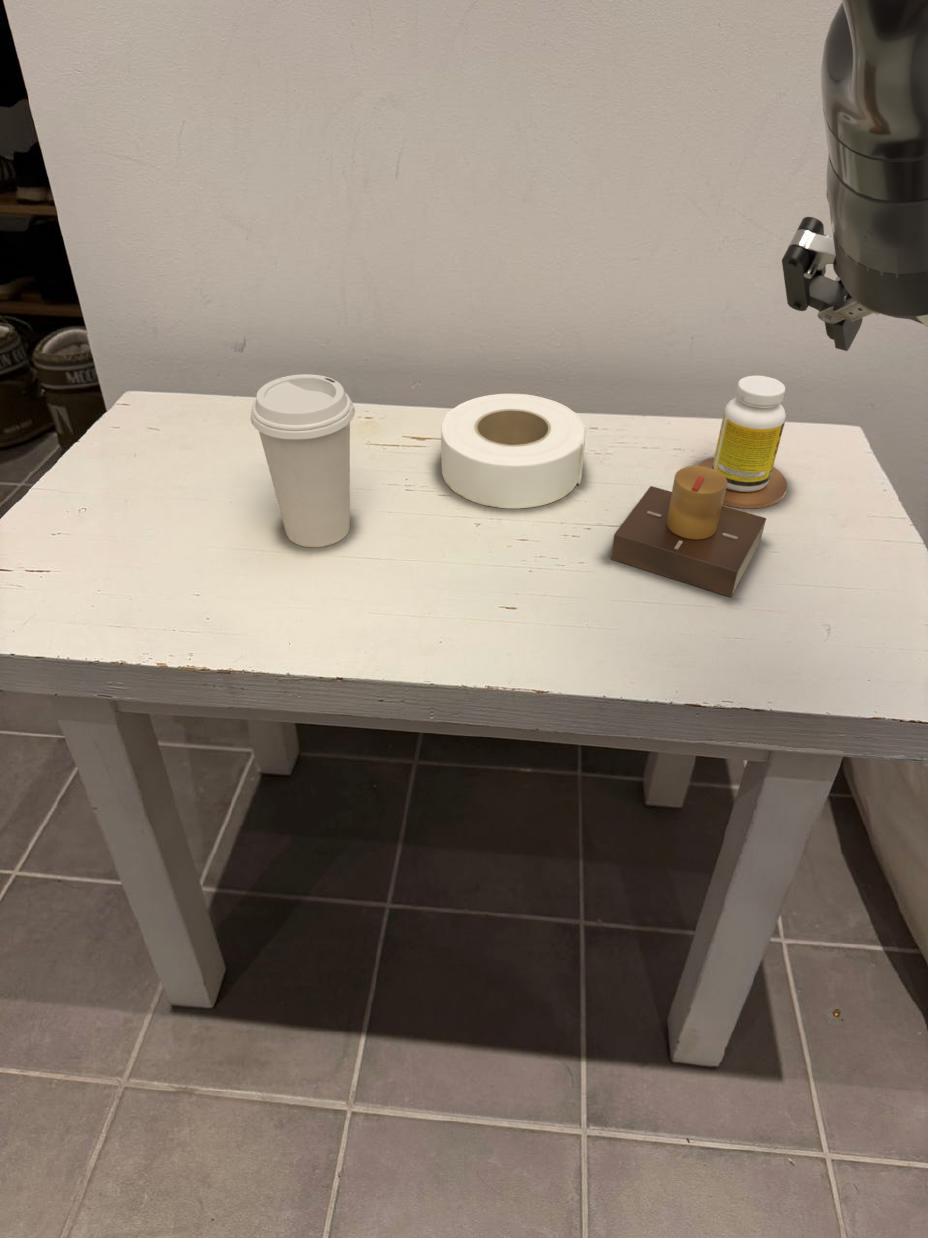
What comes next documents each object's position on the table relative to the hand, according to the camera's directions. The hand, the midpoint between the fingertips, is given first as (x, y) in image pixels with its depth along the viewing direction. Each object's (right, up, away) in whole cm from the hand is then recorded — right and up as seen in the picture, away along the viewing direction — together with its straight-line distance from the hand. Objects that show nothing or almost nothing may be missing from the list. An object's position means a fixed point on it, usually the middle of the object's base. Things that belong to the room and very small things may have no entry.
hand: (917, 354), depth 53 cm
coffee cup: (-43, -7, +36) cm, 56 cm away
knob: (-6, -7, +31) cm, 32 cm away
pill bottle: (+3, -1, +42) cm, 42 cm away
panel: (-6, -9, +33) cm, 35 cm away
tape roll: (-22, 0, +45) cm, 50 cm away
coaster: (+3, -1, +43) cm, 43 cm away
